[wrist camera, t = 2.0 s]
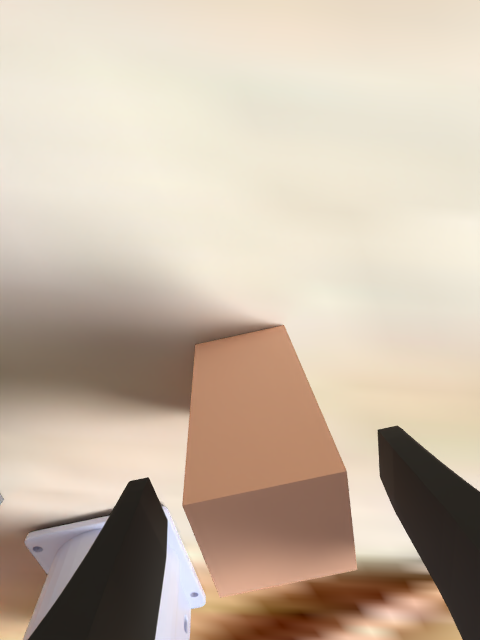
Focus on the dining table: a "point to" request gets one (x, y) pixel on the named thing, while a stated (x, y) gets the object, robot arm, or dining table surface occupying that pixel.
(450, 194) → the dining table surface
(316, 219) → the dining table surface
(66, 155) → the dining table surface
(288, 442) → the peg
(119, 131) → the dining table surface
